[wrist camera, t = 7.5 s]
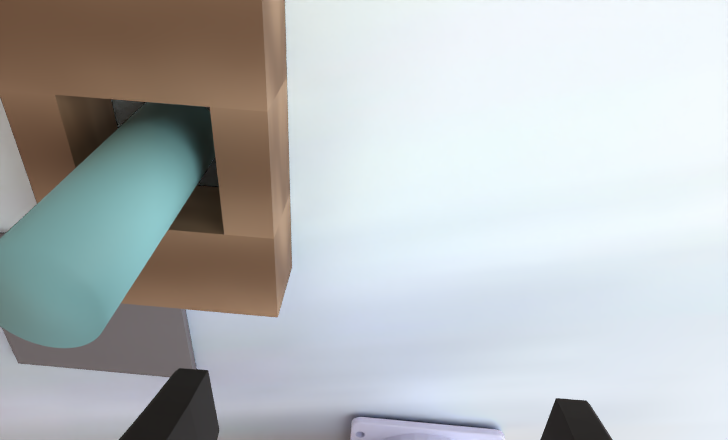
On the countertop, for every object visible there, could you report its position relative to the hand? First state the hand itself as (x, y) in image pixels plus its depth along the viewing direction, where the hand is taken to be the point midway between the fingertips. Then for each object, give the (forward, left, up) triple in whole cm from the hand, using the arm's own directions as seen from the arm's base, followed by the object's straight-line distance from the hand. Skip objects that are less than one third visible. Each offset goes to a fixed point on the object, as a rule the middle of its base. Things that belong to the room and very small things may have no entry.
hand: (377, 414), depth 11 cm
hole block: (+1, +8, -10) cm, 13 cm away
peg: (+1, +8, -10) cm, 13 cm away
